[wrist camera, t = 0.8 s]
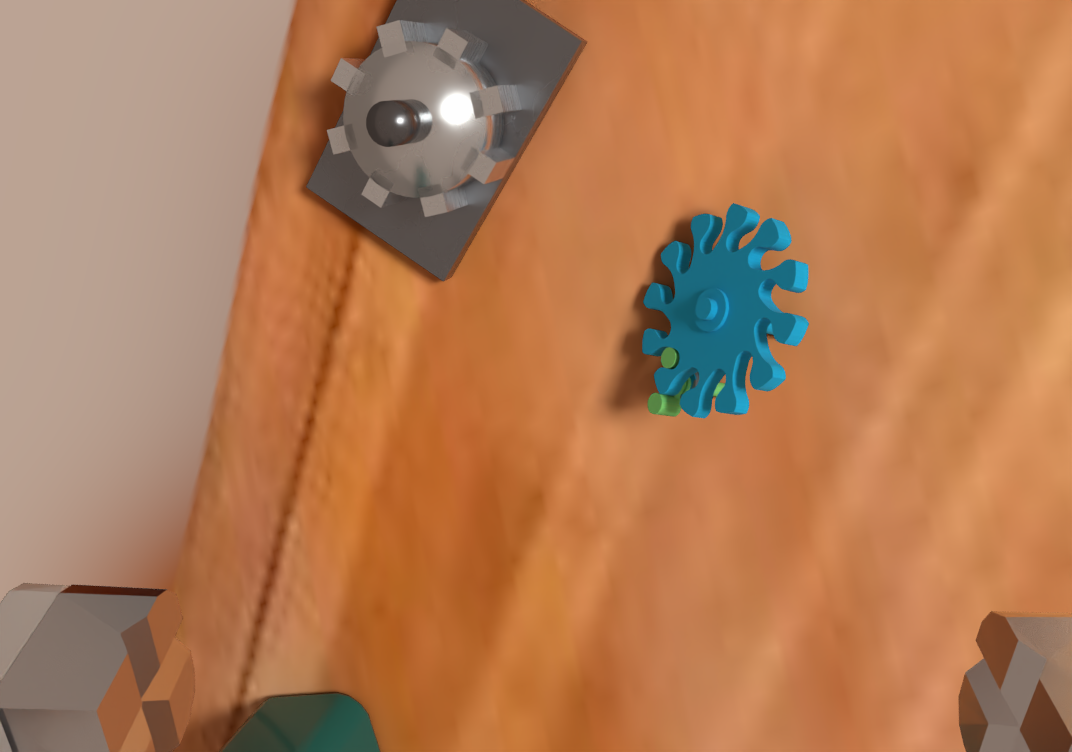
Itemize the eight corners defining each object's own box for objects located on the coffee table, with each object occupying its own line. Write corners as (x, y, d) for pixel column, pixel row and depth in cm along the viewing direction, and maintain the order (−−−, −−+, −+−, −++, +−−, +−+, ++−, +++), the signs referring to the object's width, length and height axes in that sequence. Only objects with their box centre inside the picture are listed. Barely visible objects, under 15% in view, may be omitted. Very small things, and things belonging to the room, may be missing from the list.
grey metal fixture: (435, -59, 48) (373, -80, 41) (587, 42, 47) (549, 36, 40) (317, 184, 53) (244, 200, 46) (451, 277, 52) (398, 306, 46)
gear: (713, 159, 45) (829, 292, 39) (797, 188, 49) (917, 315, 42) (596, 336, 51) (680, 477, 44) (678, 351, 54) (768, 485, 48)
